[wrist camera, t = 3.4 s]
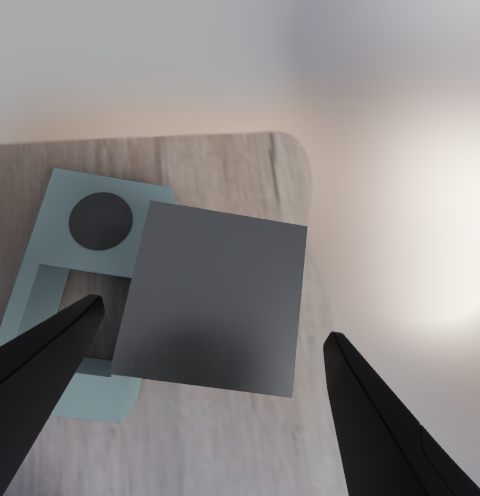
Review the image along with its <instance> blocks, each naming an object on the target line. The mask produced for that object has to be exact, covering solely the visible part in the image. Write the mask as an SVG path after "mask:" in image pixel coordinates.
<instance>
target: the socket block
mask: <svg viewBox="0 0 480 496" xmlns="http://www.w3.org/2000/svg"><path fill="white" fill-rule="evenodd" d="M150 200H152V201H158V202H164V203H170V204H176V205H179V203H178V201H177V199H176V197H175V194H174V192H173V190H172V188H171V187H165V186H160V185H154V184H148V183H142V182H136V181H130V180H124V179H119V178H113V177H107V176H101V175H95V174H89V173H83V172H77V171H72V170H66V169H60V168H54V169H53V172H52V175H51V178H50V181H49V184H48V187H47V190H46V193H45V196H44V199H43V201H42V204H41V207H40V210H39V213H38V216H37V219H36V222H35V225H34V228H33V231H32V234H31V237H30V240H29V243H28V246H27V249H26V252H25V255H24V258H23V261H22V264H21V267H20V270H19V273H18V276H17V279H16V281H15V284H14V287H13V290H12V293H11V296H10V299H9V302H8V305H7V308H6V311H5V314H4V317H3V320H2V323H1V326H0V346H2V345H3V344H5V343H7V342H9V341H10V340H12V339H14V338H15V337H17V336H19V335H20V334H22V333H24V332H26V331H27V330H29V329H31V328H32V327H34V326H36V325H38V324H39V323H41V322H43V321H44V320H46V319H48V318H50V317H51V316H53V315H55V314H56V313H57V312H58V309H59V305H60V302H61V298H62V295H63V291H64V288H65V285H66V281H67V278H68V274H69V271H70V270H77V271H84V272H90V273H97V274H104V275H110V276H117V277H124V278H130V279H132V275H133V271H134V266H135V262H136V258H137V254H138V250H139V245H140V241H141V237H142V233H143V229H144V224H145V220H146V216H147V212H148V208H149V204H150ZM111 363H112V361H110V360H103V359H95V358H88V357H84V359H83V361H82V362H81V364H80V366H79V367H78V369H77V371H76V372H75V374H74V376H73V378H72V379H71V381H70V383H69V384H68V386H67V388H66V389H65V391H64V393H63V394H62V396H61V398H60V400H59V401H58V403H57V405H56V406H55V408H54V410H53V411H52V413H51V415H52V416H60V417H69V418H77V419H86V420H94V421H103V422H111V423H120V422H121V421H122V419H123V418H124V417H125V416H126V414H127V413H128V412H129V411H130V409H131V408H132V407H133V406H134V404H135V403H136V402H137V401H138V396H139V391H140V387H141V382H142V378H135V377H127V376H119V375H112V374H109V371H110V367H111Z"/></svg>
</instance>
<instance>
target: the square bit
mask: <svg viewBox="0 0 480 496" xmlns="http://www.w3.org/2000/svg"><path fill="white" fill-rule="evenodd" d="M306 236H307V226H301V225H295V224H289V223H283V222H277V221H271V220H265V219H260V218H254V217H248V216H242V215H236V214H230V213H224V212H218V211H212V210H206V209H200V208H194V207H188V206H182V205H176V204H170V203H164V202H158V201H152V200H150V204H149V208H148V212H147V216H146V220H145V224H144V229H143V233H142V237H141V241H140V245H139V250H138V254H137V258H136V262H135V266H134V271H133V275H132V279H131V283H130V287H129V292H128V296H127V300H126V304H125V308H124V313H123V317H122V321H121V325H120V329H119V334H118V338H117V342H116V346H115V350H114V355H113V359H112V363H111V367H110V371H109V374H112V375H119V376H127V377H135V378H143V379H151V380H158V381H166V382H174V383H182V384H189V385H197V386H205V387H213V388H221V389H228V390H236V391H244V392H252V393H260V394H267V395H275V396H283V397H291V398H292V390H293V379H294V368H295V357H296V346H297V335H298V324H299V313H300V302H301V291H302V280H303V269H304V258H305V247H306Z"/></svg>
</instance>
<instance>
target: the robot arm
mask: <svg viewBox="0 0 480 496" xmlns="http://www.w3.org/2000/svg"><path fill="white" fill-rule="evenodd" d="M104 313H105V309H104V304H103V299H102V297H101V296H99V295H93V294H90V295H87V296H86V297H84V298H82V299H80V300H79V301H77V302H75V303H74V304H72V305H70V306H68V307H67V308H65V309H63V310H62V311H60V312H58V313H56V314H55V315H53V316H51V317H50V318H48V319H46V320H44V321H43V322H41V323H39V324H38V325H36V326H34V327H32V328H31V329H29V330H27V331H26V332H24V333H22V334H20V335H19V336H17V337H15V338H14V339H12V340H10V341H9V342H7V343H5V344H3V345H2V346H0V496H3V494H4V492H5V491H6V489H7V487H8V486H9V484H10V482H11V481H12V479H13V477H14V476H15V474H16V472H17V470H18V469H19V467H20V465H21V464H22V462H23V460H24V459H25V457H26V455H27V454H28V452H29V450H30V449H31V447H32V445H33V443H34V442H35V440H36V438H37V437H38V435H39V433H40V432H41V430H42V428H43V427H44V425H45V423H46V421H47V420H48V418H49V416H50V415H51V413H52V411H53V410H54V408H55V406H56V405H57V403H58V401H59V400H60V398H61V396H62V394H63V393H64V391H65V389H66V388H67V386H68V384H69V383H70V381H71V379H72V378H73V376H74V374H75V372H76V371H77V369H78V367H79V366H80V364H81V362H82V361H83V359H84V357H85V355H86V353H87V351H88V349H89V347H90V345H91V343H92V341H93V338H94V336H95V334H96V332H97V330H98V328H99V325H100V323H101V321H102V319H103V317H104ZM323 352H324V362H325V373H326V383H327V390H328V395H329V400H330V405H331V410H332V415H333V420H334V425H335V430H336V435H337V440H338V444H339V449H340V454H341V459H342V464H343V469H344V474H345V479H346V484H347V489H348V494H349V496H480V488H479V487H478V486H477V485H476V484H475V483H474V482H473V481H472V480H471V479H470V478H469V477H468V476H467V475H466V473H465V472H464V471H463V470H462V469H461V468H460V467H459V466H458V465H457V464H456V463H455V462H454V461H453V460H452V459H451V458H450V456H449V455H448V454H447V453H446V452H445V451H444V450H443V449H442V448H441V446H440V445H439V444H438V443H437V442H436V441H435V440H434V439H433V437H432V436H431V435H430V434H429V433H428V432H427V430H426V429H425V428H424V427H423V426H422V425H420V423H419V421H418V420H417V419H416V418H415V417H414V415H413V414H412V413H411V412H410V411H409V410H408V409H407V407H406V406H405V405H404V404H403V403H402V402H401V400H400V399H399V398H398V397H397V396H396V395H395V394H394V392H393V391H392V390H391V389H390V388H389V386H388V385H387V384H386V383H385V382H384V381H383V380H382V378H381V377H380V376H379V375H378V374H377V373H376V372H375V370H374V369H373V368H372V367H371V366H370V364H369V363H368V362H367V361H366V360H365V359H364V358H363V356H362V355H361V354H360V353H359V352H358V351H357V350H356V348H355V347H354V346H353V345H352V344H351V343H350V341H349V340H348V339H347V338H346V337H345V335H344V334H342V333H340V332H331V333H330V334H329V336H328V338H327V339H326V341H325V343H324V346H323Z"/></svg>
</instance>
